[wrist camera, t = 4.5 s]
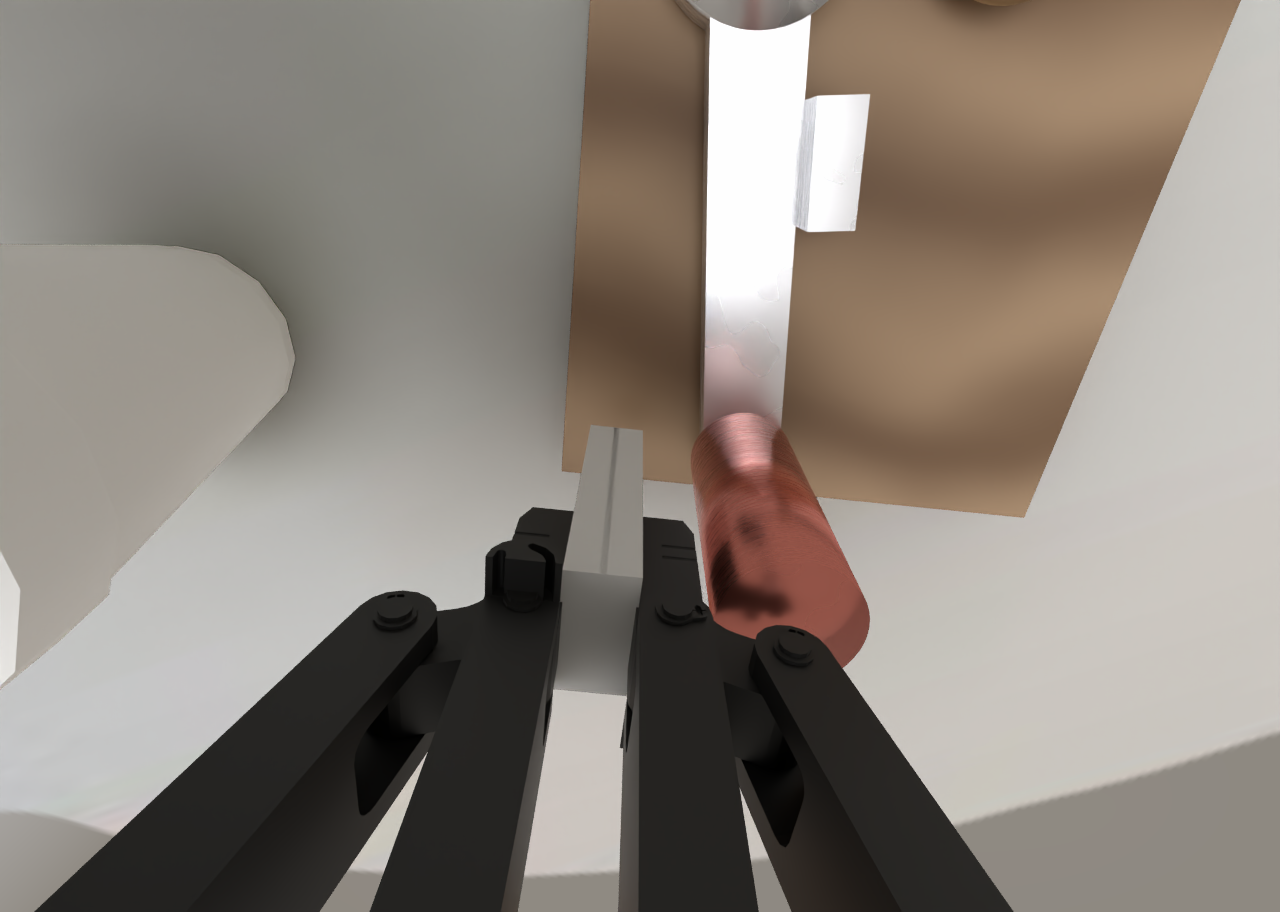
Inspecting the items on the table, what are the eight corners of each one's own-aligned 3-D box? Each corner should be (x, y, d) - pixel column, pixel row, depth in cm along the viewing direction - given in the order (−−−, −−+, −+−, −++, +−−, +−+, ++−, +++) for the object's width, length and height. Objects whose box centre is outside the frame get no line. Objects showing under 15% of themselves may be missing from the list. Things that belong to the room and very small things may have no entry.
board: (620, -393, 15) (608, -614, 11) (1317, -292, 16) (1574, -463, 11) (566, 453, 24) (548, 518, 20) (1003, 497, 25) (1077, 570, 21)
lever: (652, -206, 15) (656, -712, 6) (867, -215, 15) (1180, -742, 6) (661, 479, 23) (669, 687, 14) (803, 477, 23) (902, 685, 14)
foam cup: (76, 142, 20) (-729, 127, 8) (366, 271, 22) (32, 413, 10) (55, 401, 24) (-523, 643, 12) (304, 495, 25) (7, 791, 14)
